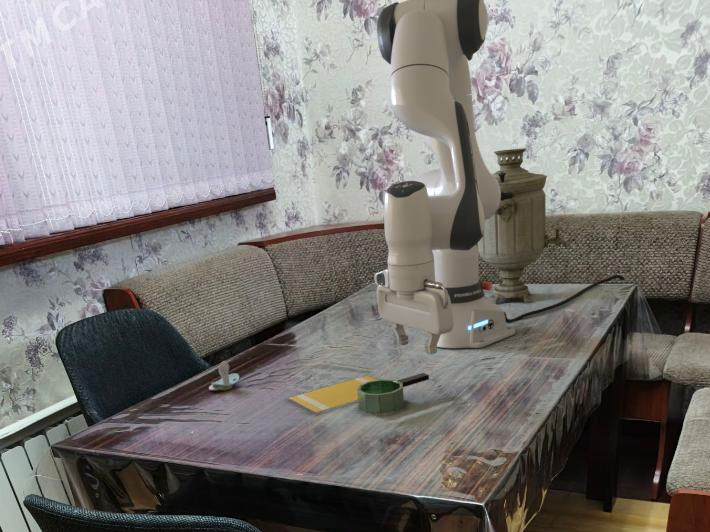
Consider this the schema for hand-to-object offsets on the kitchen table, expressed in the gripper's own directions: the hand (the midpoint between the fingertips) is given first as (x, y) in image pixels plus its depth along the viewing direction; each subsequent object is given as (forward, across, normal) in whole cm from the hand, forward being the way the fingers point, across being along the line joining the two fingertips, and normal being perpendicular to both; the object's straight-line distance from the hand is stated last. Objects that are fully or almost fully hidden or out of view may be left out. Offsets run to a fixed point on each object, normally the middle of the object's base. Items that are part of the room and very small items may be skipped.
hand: (417, 348), depth 142 cm
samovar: (+12, +45, -71) cm, 85 cm away
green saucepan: (+10, 0, +6) cm, 12 cm away
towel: (+10, +13, +11) cm, 19 cm away
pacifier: (+10, +38, +28) cm, 48 cm away
